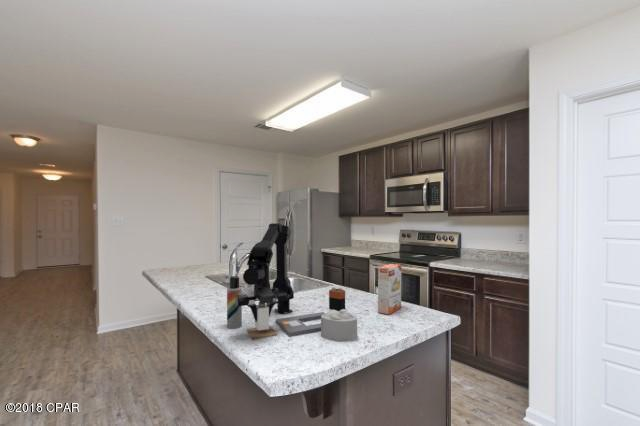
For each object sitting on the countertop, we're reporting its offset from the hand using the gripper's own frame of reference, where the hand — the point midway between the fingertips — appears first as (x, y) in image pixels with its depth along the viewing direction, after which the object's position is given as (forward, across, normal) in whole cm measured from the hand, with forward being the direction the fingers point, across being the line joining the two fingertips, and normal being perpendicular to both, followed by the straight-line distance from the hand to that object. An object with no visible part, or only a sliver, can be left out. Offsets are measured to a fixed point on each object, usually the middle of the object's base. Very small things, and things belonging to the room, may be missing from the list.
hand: (261, 320), depth 116 cm
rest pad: (+4, 0, 0) cm, 4 cm away
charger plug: (+2, 0, 0) cm, 3 cm away
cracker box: (+5, +61, +1) cm, 61 cm away
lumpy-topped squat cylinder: (+5, +25, -16) cm, 30 cm away
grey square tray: (+4, +19, 0) cm, 20 cm away
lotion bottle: (+5, -8, +12) cm, 15 cm away
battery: (+5, +40, +14) cm, 43 cm away
